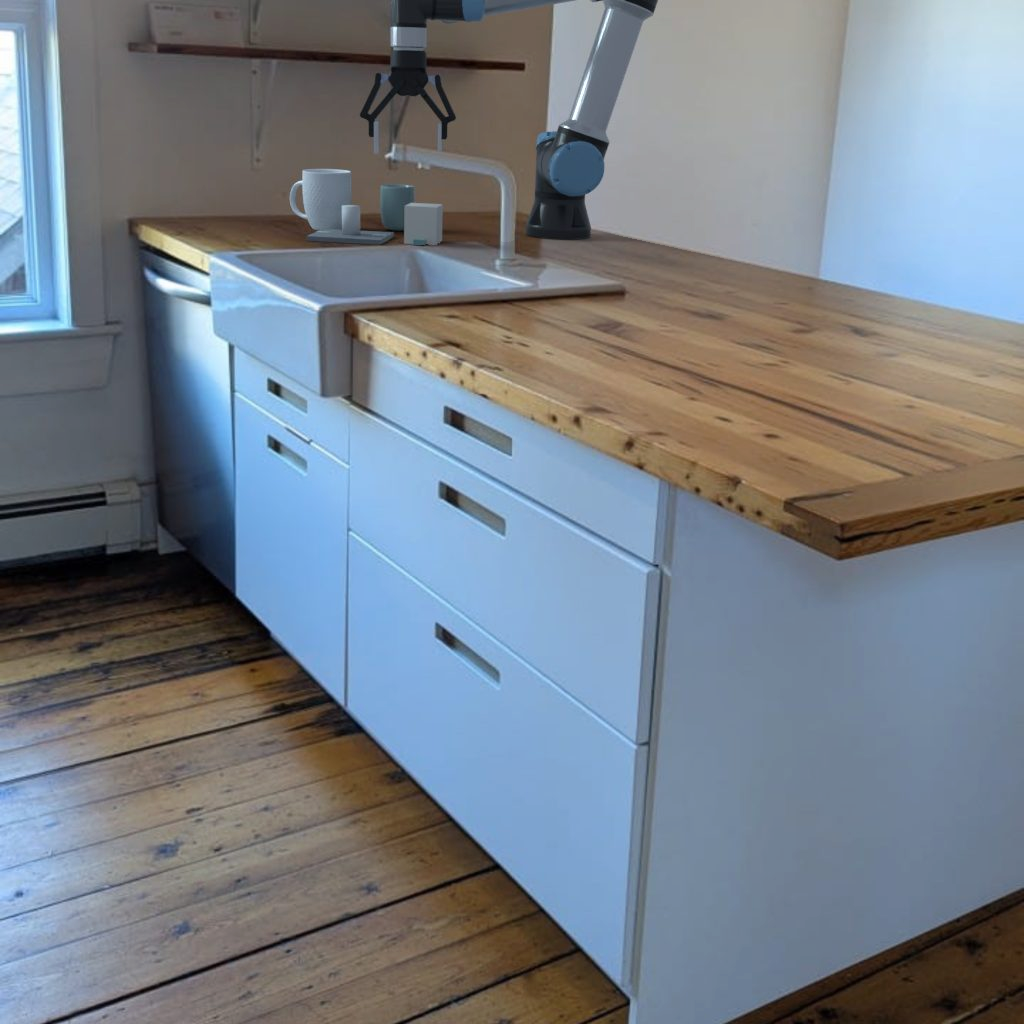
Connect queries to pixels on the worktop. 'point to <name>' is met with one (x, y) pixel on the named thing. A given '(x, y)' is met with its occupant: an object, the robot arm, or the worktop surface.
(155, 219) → the worktop surface
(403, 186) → the cup
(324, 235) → the post plate
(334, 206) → the mug
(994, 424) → the worktop surface
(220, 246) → the worktop surface
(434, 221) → the grey cube
